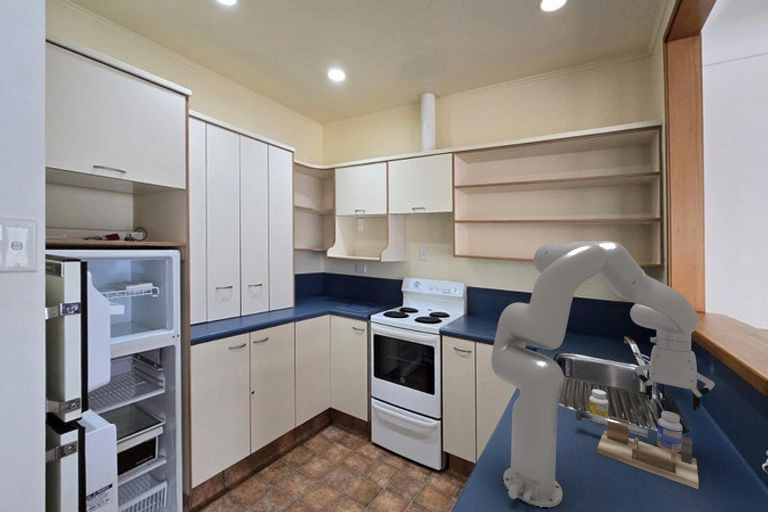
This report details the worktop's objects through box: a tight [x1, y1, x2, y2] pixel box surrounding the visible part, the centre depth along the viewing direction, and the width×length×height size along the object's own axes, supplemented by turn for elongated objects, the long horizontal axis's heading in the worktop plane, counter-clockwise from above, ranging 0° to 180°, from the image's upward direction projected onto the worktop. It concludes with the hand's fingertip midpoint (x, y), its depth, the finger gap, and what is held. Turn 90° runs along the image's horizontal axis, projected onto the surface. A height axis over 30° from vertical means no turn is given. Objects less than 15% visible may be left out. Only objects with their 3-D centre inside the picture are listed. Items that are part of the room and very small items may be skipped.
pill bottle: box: [656, 410, 683, 453], centre depth 96 cm, size 5×5×10 cm
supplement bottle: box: [588, 388, 609, 425], centre depth 111 cm, size 5×5×10 cm
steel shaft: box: [575, 405, 649, 438], centre depth 99 cm, size 4×17×4 cm, turn 49°
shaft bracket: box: [596, 415, 700, 490], centre depth 90 cm, size 12×20×7 cm, turn 49°
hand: (671, 403), depth 96 cm, fingers open, 9 cm apart
